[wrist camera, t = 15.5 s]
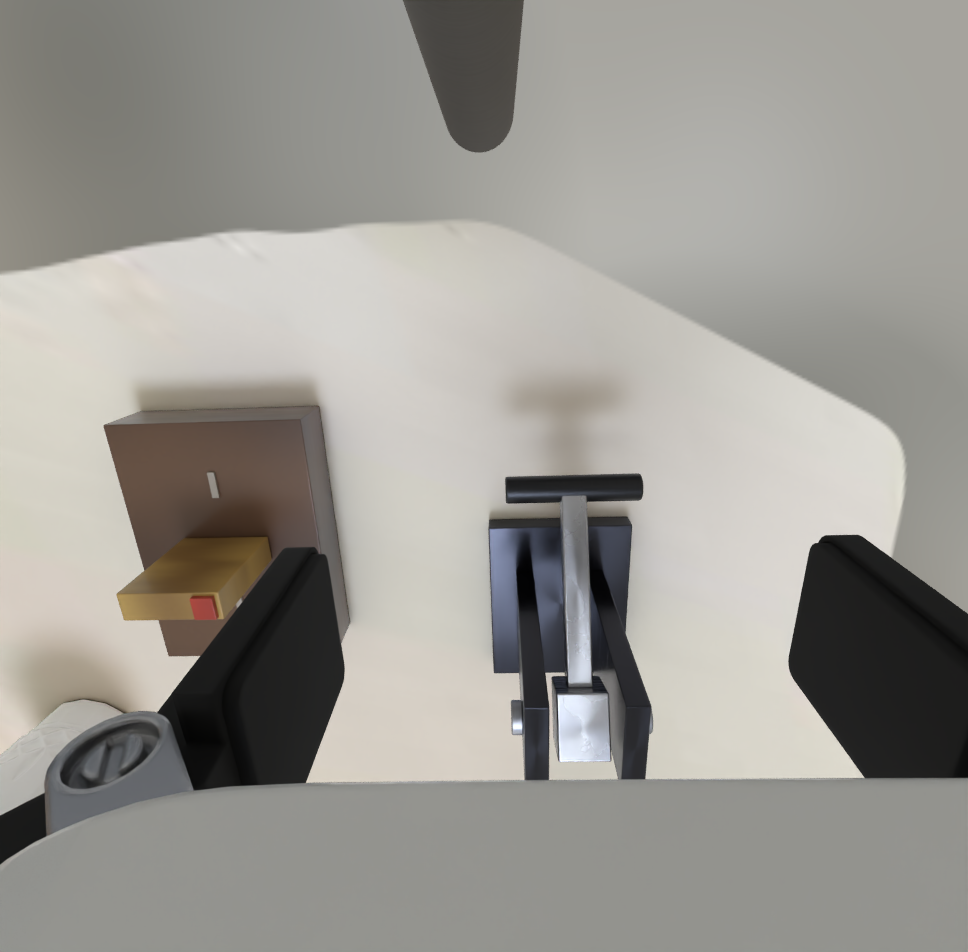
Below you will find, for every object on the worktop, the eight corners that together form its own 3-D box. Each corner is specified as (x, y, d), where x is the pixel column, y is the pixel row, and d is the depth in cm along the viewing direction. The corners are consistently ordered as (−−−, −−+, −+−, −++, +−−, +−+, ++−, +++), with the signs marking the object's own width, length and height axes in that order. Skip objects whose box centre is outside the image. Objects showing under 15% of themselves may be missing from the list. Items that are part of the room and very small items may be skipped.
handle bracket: (488, 519, 32) (483, 649, 21) (627, 516, 31) (697, 646, 20) (493, 660, 35) (491, 837, 24) (619, 659, 35) (675, 837, 24)
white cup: (122, 682, 36) (-9, 823, 27) (172, 769, 39) (69, 924, 30) (18, 702, 37) (-143, 845, 28) (74, 786, 40) (-57, 943, 31)
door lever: (505, 478, 26) (505, 475, 23) (633, 474, 26) (646, 471, 23) (511, 738, 25) (512, 762, 23) (643, 737, 25) (658, 761, 22)
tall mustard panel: (189, 561, 30) (120, 624, 24) (183, 537, 29) (111, 597, 24) (272, 559, 30) (221, 622, 24) (267, 536, 29) (215, 595, 24)
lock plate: (139, 411, 30) (100, 426, 27) (319, 405, 30) (299, 420, 27) (195, 626, 35) (166, 658, 32) (350, 623, 34) (336, 656, 31)
